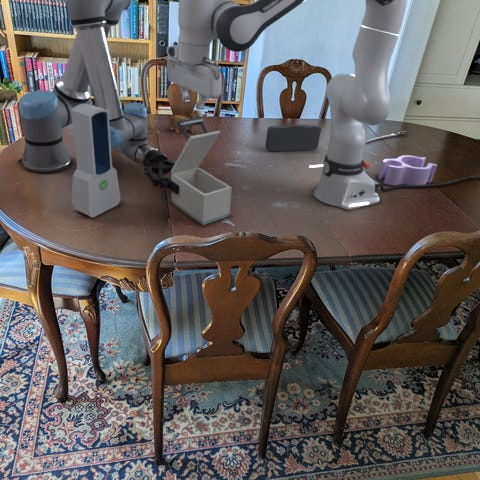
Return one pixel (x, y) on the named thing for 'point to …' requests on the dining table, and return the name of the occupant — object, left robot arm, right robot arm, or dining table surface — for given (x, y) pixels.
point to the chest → (201, 195)
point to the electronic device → (93, 162)
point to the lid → (194, 146)
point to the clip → (406, 171)
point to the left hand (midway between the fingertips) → (192, 185)
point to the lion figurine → (180, 118)
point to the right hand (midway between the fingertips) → (193, 105)
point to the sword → (384, 137)
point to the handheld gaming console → (292, 137)
